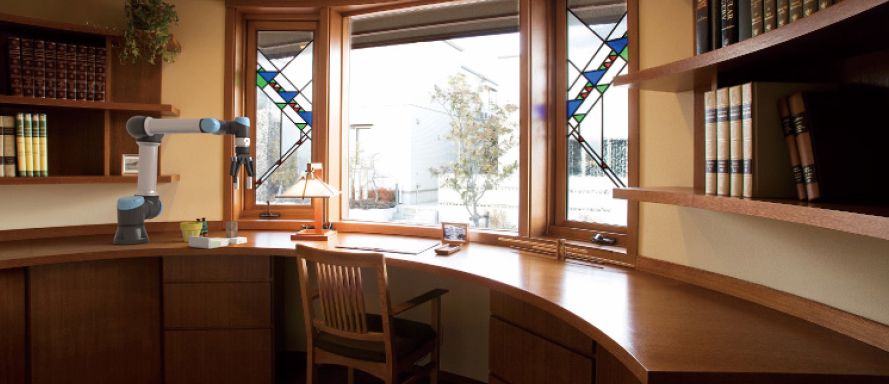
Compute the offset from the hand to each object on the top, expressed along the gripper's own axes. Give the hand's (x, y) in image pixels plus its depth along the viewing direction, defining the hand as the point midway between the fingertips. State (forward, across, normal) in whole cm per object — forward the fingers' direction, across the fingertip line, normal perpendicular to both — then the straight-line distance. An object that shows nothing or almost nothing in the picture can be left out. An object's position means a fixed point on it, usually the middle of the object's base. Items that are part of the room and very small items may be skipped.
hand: (243, 188), depth 268 cm
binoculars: (+28, -4, +31) cm, 42 cm away
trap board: (+27, -17, -2) cm, 32 cm away
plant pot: (+28, -17, +18) cm, 37 cm away
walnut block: (+25, -10, -2) cm, 27 cm away
